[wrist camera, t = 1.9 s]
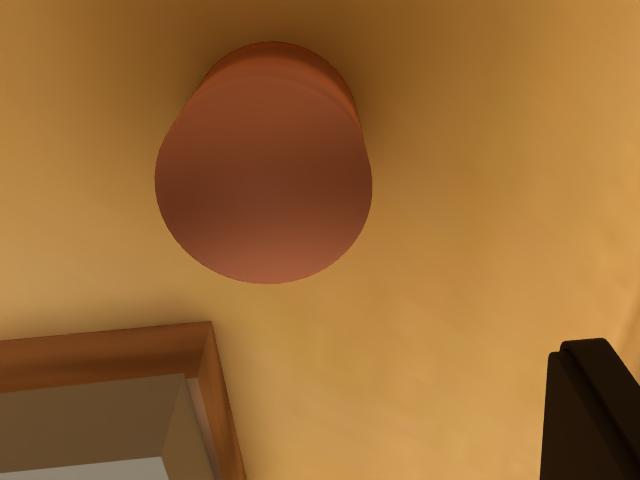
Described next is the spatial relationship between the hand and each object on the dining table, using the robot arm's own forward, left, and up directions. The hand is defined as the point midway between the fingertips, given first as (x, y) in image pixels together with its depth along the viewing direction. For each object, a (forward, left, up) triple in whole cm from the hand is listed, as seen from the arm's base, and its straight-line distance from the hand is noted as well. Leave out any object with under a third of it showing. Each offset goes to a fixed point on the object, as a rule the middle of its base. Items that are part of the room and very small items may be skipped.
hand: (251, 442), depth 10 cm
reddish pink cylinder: (-1, 0, -15) cm, 15 cm away
